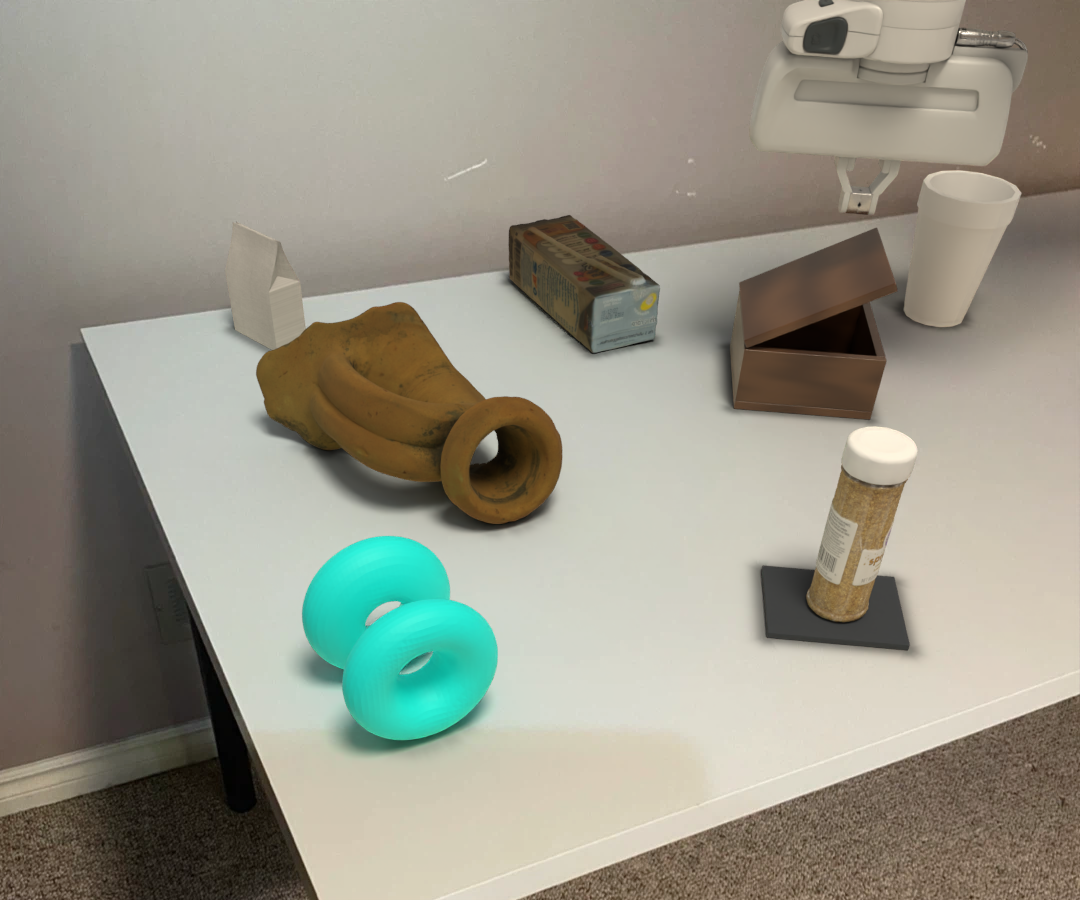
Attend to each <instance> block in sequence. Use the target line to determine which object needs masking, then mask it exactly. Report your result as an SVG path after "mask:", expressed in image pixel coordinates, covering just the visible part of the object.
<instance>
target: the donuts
mask: <svg viewBox="0 0 1080 900" xmlns="http://www.w3.org/2000/svg"><path fill="white" fill-rule="evenodd" d="M450 584H451V583H450V579H449V576H448V573H447V570H446V568H445V566H444V564H443V562H442V561H441V560H440V558H439V557H438V556H437V555H436V554H435V552H433V551H432V550H431V549H430V548H429V547H428V546H425V545H423V544H422V543H421V542H419V541H417V540H414V539H411V538H408V537H404V536H397V535H378V536H372V537H368V538H364V539H361V540H359V541H356V542H354V543H352V544H350V545H348V546H346V547H344V548H342V549H341V550H339V551H338V552H337V553H334V554H333V555H332V556H331V557H330V558H329V559H327V560H326V562H324V563H323V564H322V566H321V567H320V568H319V569H318V570H317V572H316V573H315V574H314V576H313V577H312V579H311V581H310V583H309V585H308V587H307V589H306V592H305V595H304V599H303V603H302V609H301V621H302V628H303V631H304V635H305V637H306V639H307V642H308V644H309V645H310V647H311V648H312V650H313V651H314V652H315V653H316V654H317V655H318V656H319V657H320V658H321V659H322V660H324V661H325V662H327V663H328V664H330V665H332V666H334V667H336V668H338V669H341V670H343V672H342V681H341V689H342V690H341V691H342V696H343V700H344V703H345V707H346V709H347V711H348V713H349V714H350V716H351V717H352V718H353V720H354V721H355V722H356V723H357V725H359V726H360V727H362V728H363V729H364V730H366V732H369V733H371V734H373V735H374V736H377V737H380V738H383V739H386V740H392V741H393V740H394V741H411V740H418V739H423V738H426V737H430V736H432V735H436V734H439V733H441V732H443V731H445V730H447V729H449V728H451V727H452V726H454V725H455V724H457V723H458V722H460V721H461V720H462V719H464V718H465V717H466V716H467V715H469V714H470V713H471V712H472V711H473V710H474V709H475V708H476V706H478V704H479V703H480V702H481V701H482V699H483V698H484V696H485V695H486V693H487V692H488V690H489V688H490V687H491V684H492V683H493V680H494V678H495V675H496V671H497V668H498V661H499V648H498V647H499V646H498V642H497V639H496V635H495V633H494V630H493V628H492V626H491V625H490V624H489V622H488V621H487V619H486V618H485V617H484V616H483V615H482V614H481V613H480V612H478V611H477V610H476V609H474V608H472V607H471V606H469V605H467V604H466V603H462V602H459V601H456V600H452V599H451V585H450ZM391 602H398V603H400V604H399V606H397V607H396V608H394V609H392V610H390V611H387V612H386V613H384V614H383V615H382V616H380V617H379V618H377V619H376V620H375V621H374V622H372V623H371V624H370V625H366V624H367V620H368V618H369V617H370V615H371V614H372V613H373V611H375V610H376V609H377V608H378V607H380V606H382V605H384V604H387V603H391ZM431 652H432V654H431V656H430V658H429V660H428V661H426V663H425V664H424V665H423V666H421V667H420V668H418V669H417V670H415V671H413V672H409V673H403V674H402V673H401V671H402V670H403V669H404V668H405V666H407V665H408V664H409V663H410V662H411V661H413V660H414V659H416V658H417V657H420V656H422V655H424V654H427V653H431Z"/></svg>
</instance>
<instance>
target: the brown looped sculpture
mask: <svg viewBox="0 0 1080 900" xmlns="http://www.w3.org/2000/svg"><path fill="white" fill-rule="evenodd" d="M255 376H256V379H257V383H258V385H259V388H260V391H261V395H262V397H263V405H264V408H265V412H266V414H267V416H268V418H269V419H271V420H272V421H274V422H277V423H278V424H280V425H282V426H283V427H285V428H287V429H289V430H290V431H292V432H296V433H297V434H298V435H299V436H300V437H301V439H302V440H304V441H305V442H306V443H308V444H309V445H312V446H313V447H315V448H318V449H321V450H324V451H333V450H339V449H342V450H344V451H345V452H346V453H347V454H348V455H349V456H351V458H353V459H354V460H355V461H357V462H359V463H360V464H362V465H363V466H365V467H366V468H369V469H371V470H373V471H375V472H376V473H377V472H378V473H380V474H383V475H386V476H390V477H393V478H395V479H396V478H397V479H399V480H400V479H401V480H404V481H410V482H418V483H434V482H437V483H438V482H441V485H442V487H443V490H444V493H445V495H446V496H447V498H448V499H449V501H450V502H451V503H452V504H453V505H454V506H456V507H457V508H458V509H459V510H461V511H462V512H463V513H465V514H466V515H468V516H469V517H471V518H473V519H475V520H477V521H480V522H483V523H486V524H492V525H501V524H506V523H508V522H516V521H519V520H521V519H524V518H526V517H528V516H529V515H530V514H531V513H533V512H534V511H536V510H537V509H539V507H541V506H542V505H543V504H545V502H546V501H547V500H548V498H549V497H550V496H551V495H552V493H553V491H554V490H555V488H556V487H557V484H558V481H559V479H560V475H561V471H562V467H563V442H562V438H561V437H562V436H561V434H560V432H559V431H558V429H557V427H556V425H555V422H554V421H553V419H552V417H551V416H550V415H549V414H548V413H547V412H546V411H545V409H543V408H542V407H540V406H539V405H538V404H536V403H534V402H533V401H531V400H529V399H527V398H525V397H522V396H521V397H520V396H507V395H506V396H505V395H504V396H493V397H489V398H486V397H485V396H484V395H483V394H482V393H481V392H480V391H479V390H478V389H477V388H476V387H475V386H474V385H473V384H472V382H470V380H468V378H467V377H465V376H464V375H463V374H462V373H461V372H460V371H459V370H458V369H457V368H456V367H455V366H454V364H453V363H452V361H451V360H450V359H449V358H448V356H447V355H446V353H445V352H444V349H442V347H441V345H440V344H439V342H438V341H437V339H436V338H435V336H434V334H432V332H431V331H430V328H429V327H428V326H427V324H426V323H425V321H424V320H423V319H422V318H421V316H420V315H419V313H418V311H417V310H416V309H415V308H414V307H413V306H412V305H410V304H409V303H407V302H403V301H396V302H391V303H389V304H385V305H380V306H379V305H378V306H372V307H370V308H367V309H366V310H364V311H363V312H362V313H360V314H359V315H357V316H354V317H353V318H349V319H345V320H341V321H335V322H323V321H314V322H312V323H311V324H310V325H309V326H308V327H306V329H305V330H304V331H303V332H302V333H301V335H300V336H299V337H297V338H295V339H294V340H293V341H291V342H289V343H288V344H285V345H283V346H281V347H279V348H277V349H274V350H271V349H270V350H268V351H266V352H265V353H264V354H263V355H262V356H261V358H260V359H259V360H258V362H257V365H256V370H255ZM493 432H495V434H496V440H497V452H496V455H495V456H494V457H492V459H490V460H489V461H486V462H481V463H479V462H475V463H472V460H473V457H474V454H475V452H476V450H477V448H478V447H479V446H480V444H481V443H482V442H483V440H485V438H487V437H488V436H489V435H490V434H491V433H493Z"/></svg>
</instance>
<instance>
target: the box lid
mask: <svg viewBox="0 0 1080 900" xmlns="http://www.w3.org/2000/svg"><path fill="white" fill-rule="evenodd" d="M738 286H739V291H740V299H741V311H742V323H743V334H744V342H745V345H746V348H749V347H751V346H754V345H757V344H759V343H762V342H765V341H767V340H770V339H773V338H775V337H778V336H780V335H783V334H786V333H788V332H791V331H794V330H796V329H799V328H802V327H804V326H807V325H810V324H812V323H815V322H818V321H820V320H823V319H826V318H828V317H831V316H834V315H836V314H839V313H842V312H844V311H847V310H850V309H852V308H855V307H857V306H860V305H863V304H865V303H868V302H870V303H871V302H873V301H876V300H879V299H881V298H884V297H886V296H889V295H892V294H895V293H897V292H898V290H899V289H898V286H897V282H896V279H895V276H894V273H893V269H892V267H891V265H890V261H889V258H888V255H887V253H886V250H885V247H884V244H883V240H882V237H881V235H880V231H879V229H878V227H874V228H871V229H869V230H867V231H864V232H861V233H859V234H856V235H854V236H851V237H849V238H846V239H844V240H842V241H841V240H840V241H839V242H837V243H834V244H832V245H829V246H826V247H824V248H821V249H819V250H817V251H814V252H812V253H809V254H807V255H804V256H802V257H799V258H797V259H794V260H791V261H789V262H787V263H784V264H782V265H779V266H777V267H774V268H772V269H769V270H767V271H764V272H762V273H759V274H756V275H754V276H752V277H749V278H747V279H744V280H741V281H740V282H738Z"/></svg>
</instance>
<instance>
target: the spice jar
mask: <svg viewBox="0 0 1080 900" xmlns="http://www.w3.org/2000/svg"><path fill="white" fill-rule="evenodd" d="M842 451H843V452H842V456H841V460H840V463H841V465H840V473H839V477H838V481H837V484H836V487H835V492H834V496H833V498H832V500H831V504H830V507H829V512H828V515H827V519H826V521H825V522H826V523H825V525H824V530H823V533H822V538H821V541H820V546H819V548H818V549H819V550H818V553H817V556H816V561H815V568H814V570H815V572H814V577H813V581H812V584H811V587H810V588H809V589H808V592H807V595H806V599H807V603H808V605H809V607H810V608H811V609H812V610H813V611H814V612H815V613H816V614H818V615H819V616H821V617H823V618H825V619H828V620H832V621H835V622H849V621H855V620H857V619H860V618H861V617H862V616H863V615H864V614H865V613H866V611H867V610H868V605H869V598H870V594H871V591H872V588H873V585H874V582H875V578H876V577H877V575H879V572H880V568H881V565H882V562H883V558H884V555H885V552H886V548H887V544H888V542H889V539H890V535H891V532H892V528H893V525H894V522H895V518H896V517H895V516H896V513H897V510H898V507H899V504H900V501H901V497H902V493H903V491H904V488H905V484H906V483H907V481H908V480H909V479H910V478H911V476H912V473H913V471H914V470H913V469H914V467H915V464H916V461H917V457H918V452H919V449H918V445H917V444H916V442H915V441H914V440H913V439H912V438H911V437H910V436H908V435H907V434H905V433H904V432H901V431H899V430H896V429H894V428H891V427H886V426H873V425H872V426H871V425H870V426H864V427H860V428H857V429H854V430H853V431H851V432H850V433H849V435H848V436H847V439H846V441H845V445H844V448H843V450H842Z"/></svg>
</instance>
